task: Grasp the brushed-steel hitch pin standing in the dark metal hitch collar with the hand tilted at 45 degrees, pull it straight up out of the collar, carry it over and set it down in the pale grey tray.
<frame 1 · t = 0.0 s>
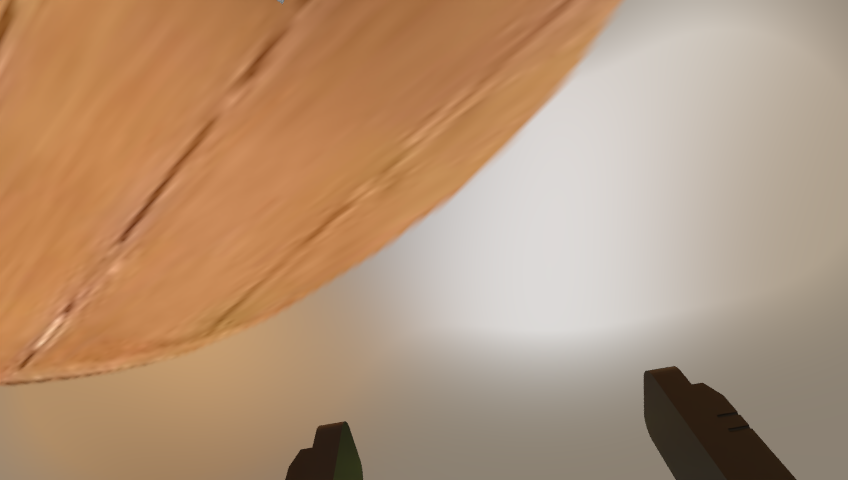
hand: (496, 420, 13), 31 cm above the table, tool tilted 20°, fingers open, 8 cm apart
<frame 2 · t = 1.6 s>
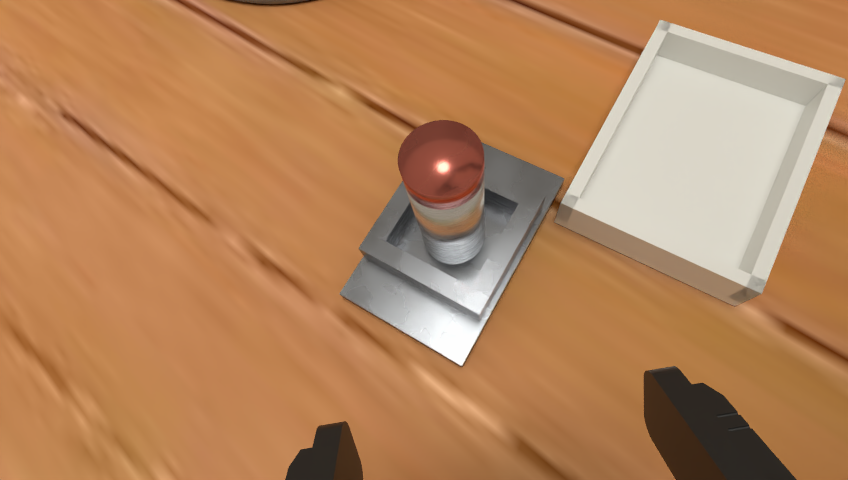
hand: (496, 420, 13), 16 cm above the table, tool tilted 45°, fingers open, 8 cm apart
pin: (453, 235, 31), point 1 cm above the table, touching hitch
tray: (685, 164, 32), on the table
hitch: (454, 239, 32), on the table
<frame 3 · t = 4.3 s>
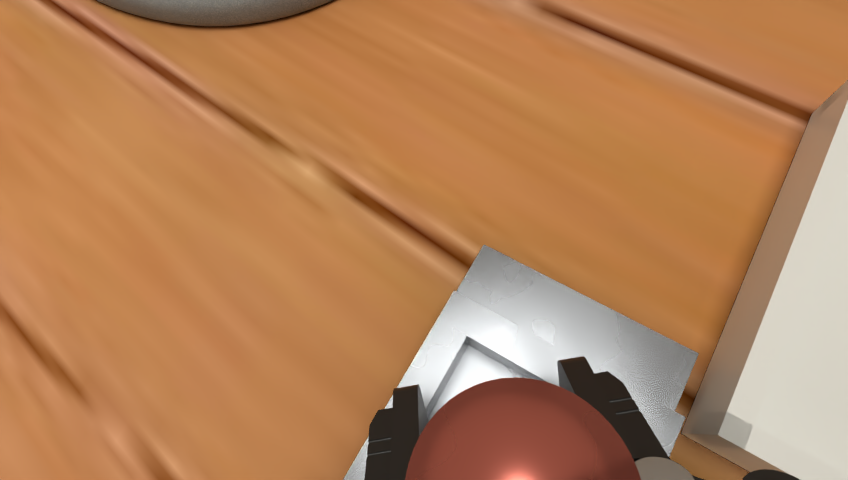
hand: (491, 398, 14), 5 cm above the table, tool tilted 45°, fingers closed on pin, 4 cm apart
pin: (500, 460, 17), point 1 cm above the table, touching gripper, hitch
hitch: (500, 459, 18), on the table
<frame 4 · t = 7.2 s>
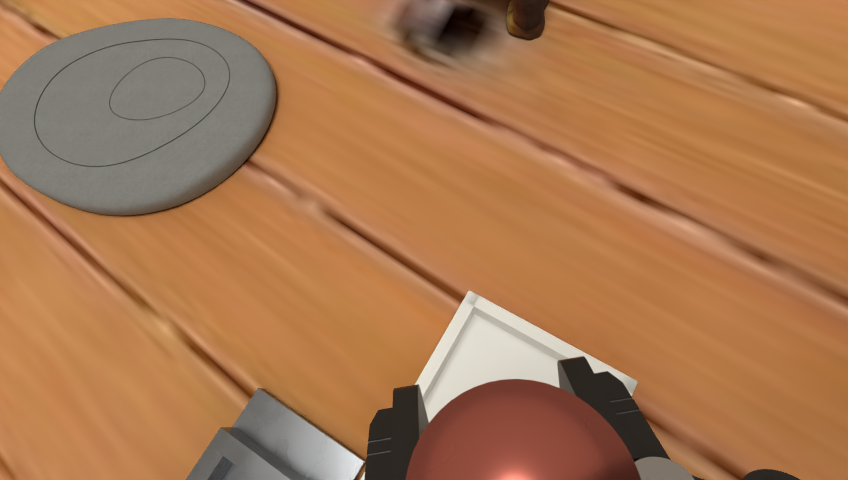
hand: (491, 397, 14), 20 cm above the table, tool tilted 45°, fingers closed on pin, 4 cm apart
frisbee: (141, 120, 45), on the table
pin: (501, 461, 17), point 15 cm above the table, touching gripper
tray: (490, 445, 31), on the table
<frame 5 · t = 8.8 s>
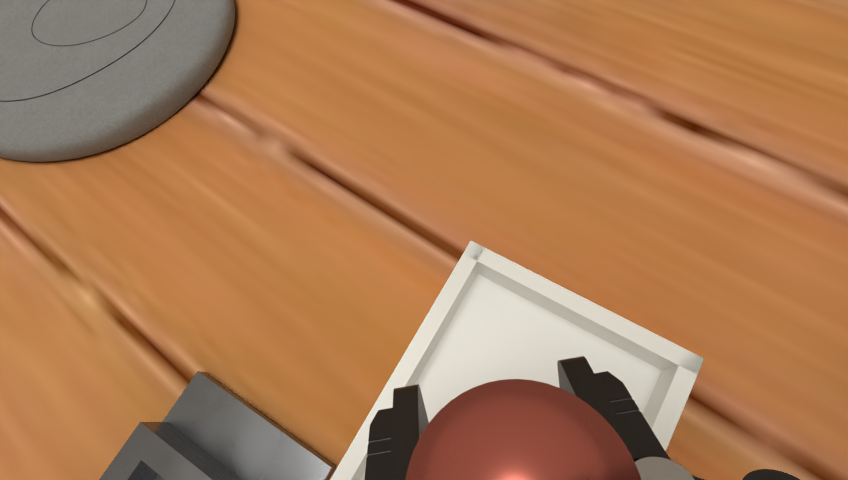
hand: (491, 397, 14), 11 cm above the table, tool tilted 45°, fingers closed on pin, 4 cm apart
frisbee: (75, 53, 37), on the table
pin: (501, 461, 17), point 7 cm above the table, touching gripper
tray: (499, 446, 24), on the table
when the fingers open (6 cm above the table, at t = 10.1 s): pin stays where it is, resting on tray.
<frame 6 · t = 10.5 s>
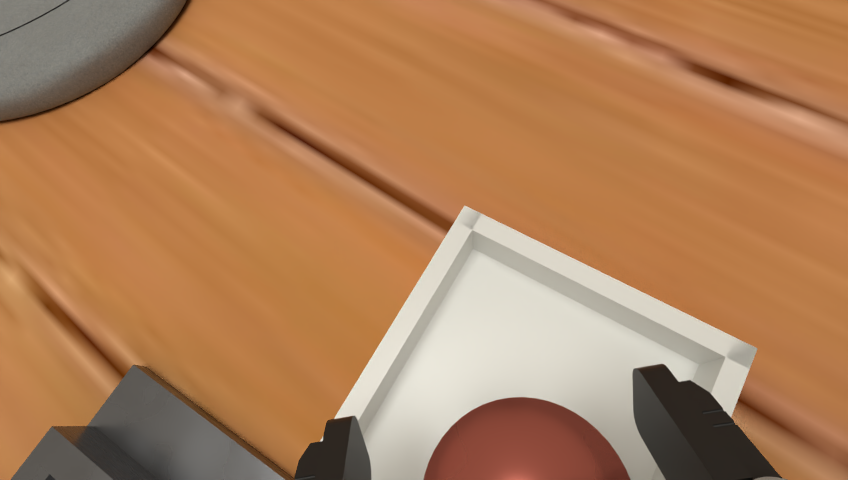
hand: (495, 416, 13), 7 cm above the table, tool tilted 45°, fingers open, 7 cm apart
frisbee: (19, 6, 33), on the table
pin: (500, 463, 18), point 1 cm above the table, touching tray
tray: (498, 457, 19), on the table
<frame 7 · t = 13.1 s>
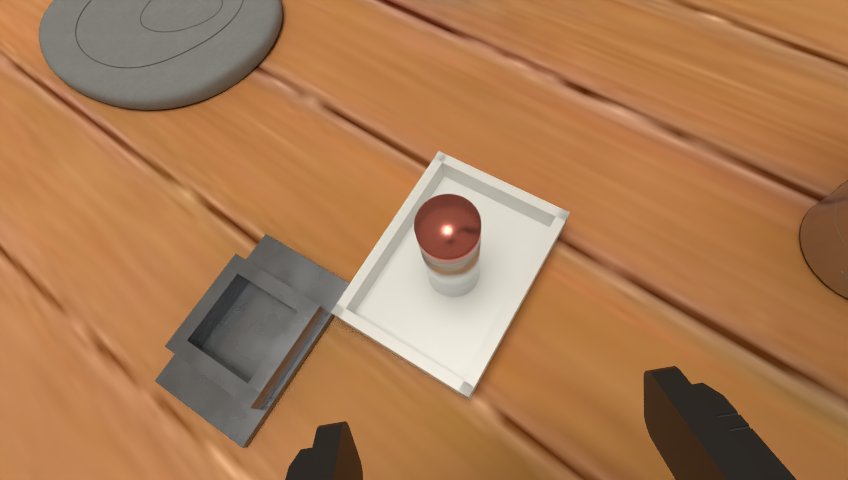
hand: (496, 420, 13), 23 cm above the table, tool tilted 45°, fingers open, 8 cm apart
frisbee: (165, 38, 53), on the table
pin: (453, 272, 38), point 1 cm above the table, touching tray
tray: (453, 274, 39), on the table
hitch: (259, 333, 38), on the table
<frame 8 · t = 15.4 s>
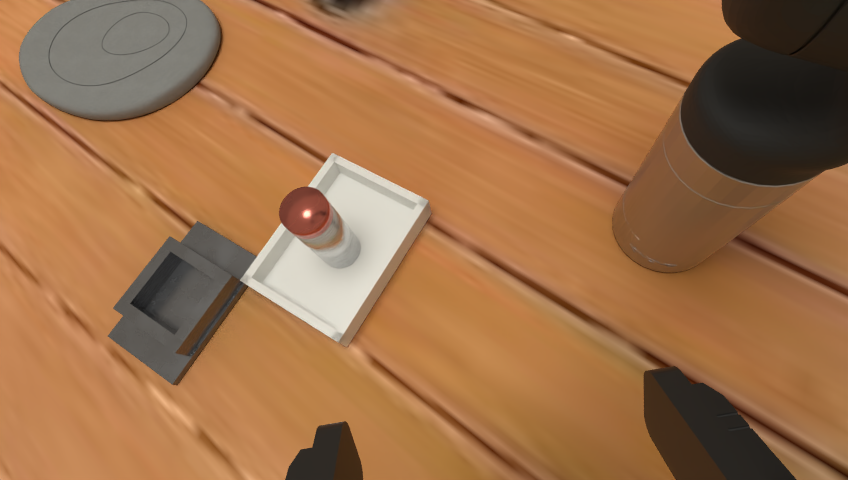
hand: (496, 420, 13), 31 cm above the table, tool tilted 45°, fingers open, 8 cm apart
frisbee: (125, 58, 63), on the table
pin: (341, 249, 48), point 1 cm above the table, touching tray
tray: (343, 250, 49), on the table
hitch: (190, 299, 49), on the table
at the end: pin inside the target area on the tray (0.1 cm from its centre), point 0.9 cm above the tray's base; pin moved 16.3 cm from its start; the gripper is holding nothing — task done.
